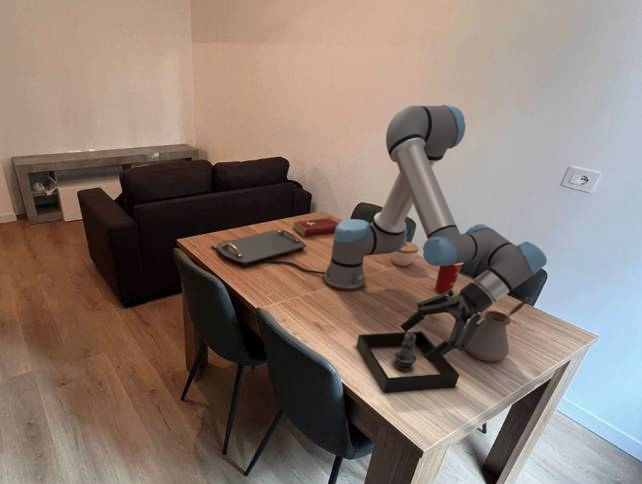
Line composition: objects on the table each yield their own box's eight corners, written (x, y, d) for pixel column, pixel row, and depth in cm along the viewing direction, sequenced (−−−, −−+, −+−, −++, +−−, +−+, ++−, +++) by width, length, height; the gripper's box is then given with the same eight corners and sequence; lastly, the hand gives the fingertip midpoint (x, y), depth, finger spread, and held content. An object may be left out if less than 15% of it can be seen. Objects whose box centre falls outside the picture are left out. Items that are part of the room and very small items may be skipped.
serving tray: (278, 234, 197) (279, 221, 194) (311, 250, 181) (313, 237, 178) (210, 251, 178) (209, 237, 174) (239, 271, 162) (240, 256, 158)
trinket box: (384, 257, 176) (388, 237, 172) (407, 257, 177) (412, 237, 172) (393, 268, 167) (398, 247, 162) (418, 268, 168) (424, 247, 163)
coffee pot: (490, 371, 112) (509, 325, 104) (453, 348, 120) (468, 305, 113) (531, 348, 122) (552, 305, 114) (495, 329, 130) (511, 288, 123)
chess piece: (413, 362, 115) (423, 327, 108) (413, 375, 110) (424, 339, 104) (391, 357, 116) (400, 322, 110) (391, 370, 111) (400, 334, 105)
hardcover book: (341, 232, 201) (342, 224, 199) (303, 237, 194) (304, 229, 192) (329, 224, 211) (330, 216, 208) (292, 228, 204) (293, 220, 202)
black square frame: (383, 393, 103) (386, 380, 101) (356, 347, 120) (358, 334, 118) (454, 387, 106) (459, 374, 104) (418, 343, 123) (421, 330, 120)
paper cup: (456, 297, 147) (467, 262, 140) (433, 294, 149) (444, 260, 142) (451, 287, 154) (462, 253, 147) (430, 285, 155) (439, 251, 148)
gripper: (523, 327, 94) (446, 381, 100) (461, 278, 116) (400, 325, 121) (510, 309, 91) (431, 366, 97) (449, 262, 112) (387, 311, 118)
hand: (414, 343), depth 109 cm, fingers open, 13 cm apart
